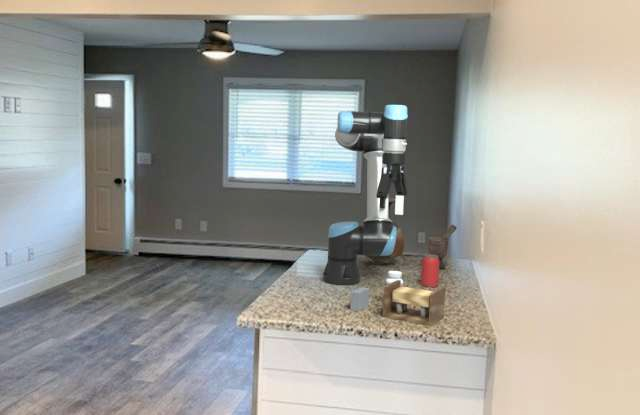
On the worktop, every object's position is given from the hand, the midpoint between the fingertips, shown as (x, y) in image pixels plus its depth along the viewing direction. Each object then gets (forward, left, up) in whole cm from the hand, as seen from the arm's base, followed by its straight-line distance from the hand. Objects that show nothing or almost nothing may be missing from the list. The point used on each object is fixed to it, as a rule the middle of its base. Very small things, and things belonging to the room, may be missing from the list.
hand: (391, 216), depth 200 cm
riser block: (-7, -7, -31) cm, 32 cm away
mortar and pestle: (-6, +74, -31) cm, 80 cm away
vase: (-30, +64, -31) cm, 77 cm away
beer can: (+2, +37, -31) cm, 49 cm away
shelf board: (+12, -7, -26) cm, 29 cm away
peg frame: (+12, -7, -31) cm, 34 cm away
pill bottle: (+1, +4, -31) cm, 31 cm away
